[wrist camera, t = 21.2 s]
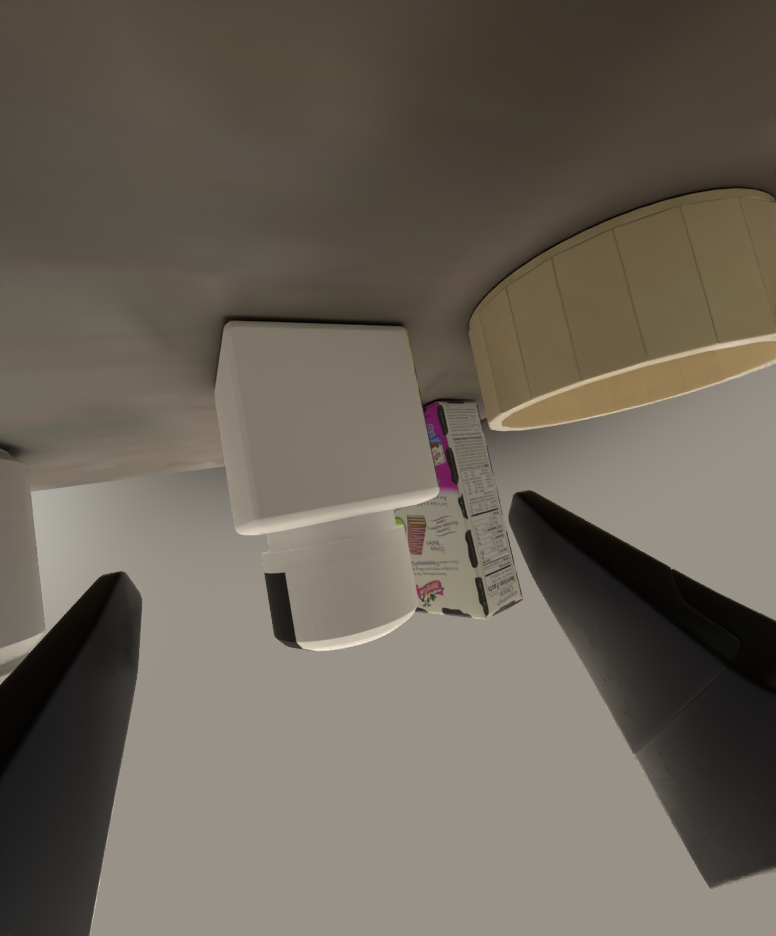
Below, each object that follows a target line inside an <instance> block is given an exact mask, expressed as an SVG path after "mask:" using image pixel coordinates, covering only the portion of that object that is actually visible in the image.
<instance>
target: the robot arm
mask: <svg viewBox="0 0 776 936" xmlns="http://www.w3.org/2000/svg"><path fill="white" fill-rule="evenodd" d="M508 519H509V523H510V526H511V529H512V531H513V533H514V536H515V538H516V540H517V543H518V545H519V547H520V549H521V552H522V554H523V557H524V559H525V561H526V563H527V565H528V568H529V570H530V572H531V574H532V577H533V578H534V580H535V582H536V584H537V586H538V588H539V589H540V591H541V593H542V595H543V596H544V598H545V600H546V602H547V603H548V605H549V607H550V609H551V611H552V612H553V614H554V616H555V618H556V619H557V621H558V623H559V625H560V626H561V628H562V630H563V632H564V633H565V635H566V637H567V639H568V640H569V642H570V644H571V646H572V647H573V649H574V651H575V653H576V654H577V656H578V658H579V660H580V661H581V663H582V665H583V667H584V669H585V670H586V672H587V674H588V675H589V677H590V679H591V681H592V683H593V684H594V686H595V688H596V690H597V691H598V693H599V695H600V697H601V698H602V700H603V702H604V704H605V705H606V707H607V709H608V710H609V713H610V714H611V716H612V718H613V720H614V721H615V723H616V725H617V727H618V728H619V730H620V732H621V734H622V735H623V737H624V739H625V741H626V742H627V744H628V746H629V748H630V749H631V751H632V753H633V754H635V755H634V757H635V759H636V760H637V762H638V764H639V766H640V768H641V769H642V771H643V773H644V775H645V776H646V778H647V780H648V782H649V783H650V785H651V787H652V788H653V790H654V792H655V794H656V796H657V797H658V799H659V801H660V803H661V804H662V806H663V808H664V810H665V812H666V813H667V815H668V817H669V819H670V820H671V822H672V824H673V826H674V827H675V829H676V831H677V833H678V834H679V836H680V838H681V840H682V841H683V843H684V845H685V847H686V848H687V850H688V852H689V854H690V855H691V857H692V859H693V860H694V862H695V864H696V866H697V868H698V870H699V871H700V873H701V875H702V876H703V878H704V880H705V881H706V883H707V884H708V886H709V887H710V888H711V889H714V888H718V887H721V886H725V885H729V884H733V883H736V882H740V881H744V880H747V879H751V878H754V877H758V876H762V875H766V874H770V873H773V872H776V621H775V620H773V619H771V618H769V617H767V616H765V615H763V614H761V613H758V612H756V611H754V610H752V609H750V608H748V607H746V606H744V605H742V604H740V603H737V602H736V601H734V600H732V599H730V598H728V597H725V596H724V595H721V594H720V593H717V592H715V591H714V590H712V589H710V588H708V587H706V586H704V585H702V584H700V583H698V582H696V581H695V580H693V579H691V578H689V577H687V576H686V575H684V574H682V573H680V572H678V571H677V570H674V569H671V568H670V567H669V566H667V565H665V564H664V563H662V562H660V561H658V560H657V559H655V558H653V557H651V556H649V555H647V554H646V553H644V552H642V551H640V550H638V549H636V548H635V547H633V546H631V545H629V544H628V543H626V542H624V541H622V540H620V539H618V538H617V537H615V536H613V535H611V534H609V533H608V532H606V531H604V530H602V529H600V528H599V527H597V526H595V525H593V524H591V523H590V522H588V521H585V520H584V519H582V518H580V517H578V516H577V515H575V514H573V513H572V512H569V511H568V510H566V509H564V508H562V507H561V506H559V505H557V504H555V503H553V502H552V501H550V500H548V499H546V498H544V497H543V496H541V495H539V494H537V493H535V492H533V491H530V490H527V491H522V492H517V493H515V494H514V495H513V499H512V503H511V507H510V511H509V518H508ZM141 613H142V598H141V595H140V592H139V591H138V589H137V588H136V586H135V585H134V583H133V582H132V581H131V579H130V578H129V577H128V575H127V574H126V573H125V572H122V571H120V572H115V573H110V574H105V575H102V576H101V577H99V578H98V579H97V581H95V582H94V584H93V585H92V586H91V587H90V588H89V589H88V590H87V591H86V592H85V593H84V594H83V595H82V597H81V598H80V599H79V600H78V601H77V602H76V603H75V604H74V605H73V606H72V607H71V609H70V610H69V611H68V612H67V613H66V614H65V615H64V616H63V617H62V618H61V619H60V621H59V622H58V623H57V624H56V625H55V626H54V627H53V628H52V629H51V630H50V632H48V634H47V635H46V636H45V637H44V638H43V639H42V640H41V641H40V642H39V643H38V644H37V646H36V647H35V648H34V649H33V650H32V651H31V652H30V653H29V654H28V655H27V656H26V657H25V659H24V660H23V661H22V662H21V663H20V664H19V665H18V666H17V667H16V668H15V669H14V670H13V672H12V673H11V674H10V675H9V676H8V677H7V678H6V679H5V680H4V681H3V682H2V684H1V685H0V936H90V933H91V927H92V921H93V916H94V911H95V905H96V900H97V894H98V888H99V883H100V878H101V872H102V866H103V861H104V856H105V850H106V845H107V839H108V834H109V828H110V823H111V817H112V812H113V806H114V801H115V796H116V790H117V785H118V779H119V773H120V768H121V763H122V757H123V752H124V746H125V740H126V735H127V730H128V724H129V719H130V713H131V708H132V702H133V696H134V691H135V685H136V680H137V673H138V661H139V647H140V629H141Z"/></svg>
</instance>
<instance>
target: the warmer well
mask: <svg viewBox="0 0 776 936" xmlns="http://www.w3.org/2000/svg"><path fill="white" fill-rule="evenodd" d="M468 331H469V338H470V342H471V347H472V351H473V356H474V360H475V365H476V370H477V374H478V379H479V383H480V388H481V393H482V397H483V402H484V406H485V411H486V415H487V420H488V424H489V428H490V429H492V430H498V431H515V430H527V429H535V428H542V427H548V426H555V425H560V424H565V423H571V422H575V421H581V420H586V419H590V418H595V417H599V416H604V415H608V414H613V413H617V412H620V411H624V410H629V409H632V408H636V407H640V406H644V405H648V404H651V403H656V402H660V401H663V400H666V399H670V398H674V397H677V396H681V395H684V394H688V393H691V392H694V391H698V390H701V389H704V388H707V387H710V386H713V385H716V384H719V383H722V382H726V381H729V380H732V379H735V378H738V377H740V376H743V375H746V374H749V373H751V372H754V371H757V370H759V369H762V368H765V367H767V366H770V365H773V364H775V363H776V199H775V198H774V197H772V196H771V195H769V194H768V193H766V192H762V191H758V190H755V189H743V188H732V189H717V190H711V191H705V192H699V193H693V194H688V195H684V196H680V197H676V198H672V199H668V200H665V201H661V202H658V203H655V204H652V205H649V206H646V207H643V208H639V209H636V210H634V211H631V212H629V213H626V214H623V215H621V216H618V217H616V218H613V219H610V220H608V221H606V222H604V223H601V224H599V225H597V226H595V227H592V228H590V229H588V230H586V231H583V232H581V233H579V234H577V235H575V236H573V237H572V238H570V239H568V240H566V241H564V242H562V243H560V244H558V245H556V246H554V247H553V248H551V249H549V250H548V251H546V252H544V253H542V254H541V255H539V256H537V257H536V258H534V259H533V260H531V261H530V262H528V263H527V264H525V265H524V266H522V267H521V268H519V269H518V270H516V271H515V272H514V273H512V274H511V275H510V276H508V277H507V278H506V279H505V280H503V281H502V282H501V283H500V284H499V285H497V286H496V287H495V288H494V289H493V290H492V291H491V292H490V293H489V294H488V295H487V296H486V297H485V298H484V299H483V300H482V301H481V303H480V304H479V305H478V307H477V308H476V310H475V311H474V312H473V315H472V317H471V319H470V322H469V327H468Z"/></svg>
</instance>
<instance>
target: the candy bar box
mask: <svg viewBox="0 0 776 936" xmlns="http://www.w3.org/2000/svg"><path fill="white" fill-rule="evenodd" d="M423 409H424V414H425V419H426V424H427V429H428V434H429V439H430V443H431V448H432V453H433V458H434V463H435V468H436V473H437V478H438V482H439V493H438V494H437V496H436V497H434V498H432V499H430V500H427V501H425V502H422V503H420V504H417V505H412V506H407V507H401V508H396V509H393V510H394V516H395V521H396V525H404V528H405V534H406V539H407V544H408V549H409V554H410V559H411V564H412V570H413V575H414V580H415V585H416V590H417V595H418V600H419V603H418V606H417V608H416V610H415V612H423V613H433V614H442V615H451V616H461V617H469V618H478V619H488V618H490V617H492V616H494V615H496V614H498V613H500V612H502V611H504V610H506V609H508V608H510V607H512V606H513V605H515V604H517V603H519V602H520V601H522V600H523V597H522V593H521V589H520V585H519V581H518V577H517V572H516V568H515V564H514V560H513V555H512V551H511V547H510V542H509V538H508V534H507V530H506V526H505V521H504V517H503V514H502V510H501V506H500V500H499V496H498V491H497V487H496V483H495V479H494V475H493V471H492V466H491V462H490V458H489V453H488V449H487V445H486V440H485V436H484V432H483V428H482V424H481V419H480V415H479V411H478V407H477V403H476V402H474V401H467V400H462V401H435V402H433V403H431V404H429V405H427V406H424V407H423Z"/></svg>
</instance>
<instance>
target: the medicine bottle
mask: <svg viewBox="0 0 776 936" xmlns="http://www.w3.org/2000/svg"><path fill="white" fill-rule="evenodd" d="M214 397H215V404H216V410H217V417H218V423H219V430H220V436H221V442H222V449H223V455H224V462H225V468H226V475H227V481H228V487H229V494H230V501H231V507H232V514H233V519H234V526H235V530H236V532H237V533H239V534H242V535H260V534H267V541H268V547H269V551H266V552H263V553H262V554H261V555H262V561H263V567H264V573H265V580H266V586H267V592H268V599H269V605H270V611H271V617H272V624H273V629H274V635H275V637H276V638H277V639H278V640H279V641H281V642H282V643H283V644H284V645H286V646H288V647H292V648H299V649H304V650H310V651H327V650H336V649H342V648H347V647H352V646H356V645H359V644H363V643H366V642H369V641H372V640H375V639H377V638H380V637H382V636H384V635H386V634H388V633H390V632H392V631H393V630H394V629H396V628H397V627H399V626H400V625H401V624H403V623H404V622H405V621H407V620H408V619H409V618H410V617H411V616H412V615H413V614H414V612H415V610H416V608H417V606H418V603H419V600H418V595H417V590H416V585H415V580H414V575H413V570H412V564H411V559H410V554H409V549H408V544H407V539H406V534H405V528H404V525H396V521H395V516H394V510H393V509H396V508H401V507H407V506H412V505H417V504H420V503H422V502H425V501H427V500H430V499H432V498H434V497H436V496H437V494H438V493H439V482H438V478H437V473H436V468H435V463H434V458H433V453H432V448H431V443H430V439H429V434H428V429H427V424H426V419H425V414H424V409H423V404H422V399H421V395H420V390H419V385H418V380H417V375H416V370H415V365H414V360H413V355H412V351H411V346H410V341H409V336H408V333H407V331H406V329H405V328H403V327H401V326H381V325H351V324H321V323H291V322H261V321H229V322H228V323H227V324H226V325H225V326H224V330H223V337H222V344H221V351H220V357H219V364H218V371H217V378H216V385H215V392H214Z"/></svg>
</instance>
